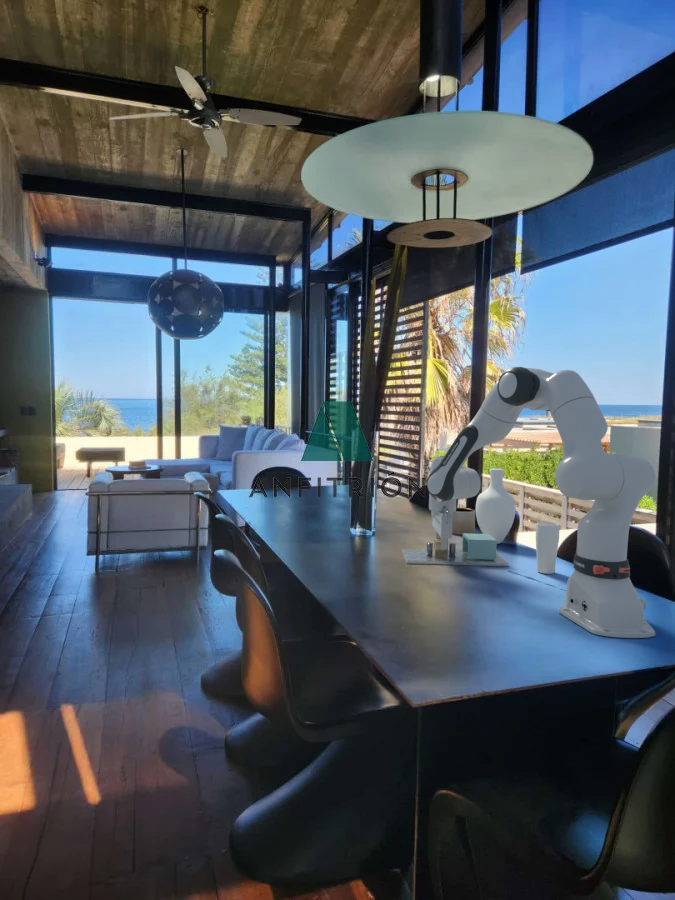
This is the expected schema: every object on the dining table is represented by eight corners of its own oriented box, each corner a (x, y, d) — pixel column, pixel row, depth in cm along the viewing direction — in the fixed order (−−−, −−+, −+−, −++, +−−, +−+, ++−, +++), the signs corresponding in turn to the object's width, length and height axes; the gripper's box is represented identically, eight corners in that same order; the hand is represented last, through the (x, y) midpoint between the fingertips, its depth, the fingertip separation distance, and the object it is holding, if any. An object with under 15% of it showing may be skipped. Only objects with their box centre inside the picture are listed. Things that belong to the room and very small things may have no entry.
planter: (477, 536, 232) (478, 512, 232) (449, 535, 233) (450, 511, 232) (471, 530, 243) (472, 507, 243) (445, 530, 243) (445, 507, 243)
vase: (499, 538, 229) (502, 466, 227) (522, 546, 215) (525, 470, 213) (467, 540, 224) (469, 467, 223) (488, 548, 211) (491, 470, 209)
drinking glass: (559, 576, 176) (561, 526, 175) (535, 574, 177) (537, 525, 176) (555, 570, 182) (557, 522, 181) (532, 568, 184) (534, 521, 183)
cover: (496, 559, 189) (496, 540, 188) (468, 558, 189) (468, 539, 189) (488, 552, 199) (489, 534, 198) (462, 551, 199) (462, 533, 199)
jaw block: (447, 557, 192) (448, 542, 192) (435, 556, 192) (436, 541, 192) (445, 554, 196) (446, 539, 196) (433, 553, 196) (434, 539, 196)
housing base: (507, 566, 186) (508, 550, 186) (406, 563, 187) (407, 547, 186) (495, 554, 202) (495, 539, 202) (402, 551, 202) (402, 537, 202)
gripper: (457, 510, 183) (456, 553, 184) (447, 500, 203) (445, 539, 204) (437, 509, 183) (436, 553, 184) (428, 500, 203) (427, 539, 204)
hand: (441, 546), depth 194 cm, fingers open, 8 cm apart
